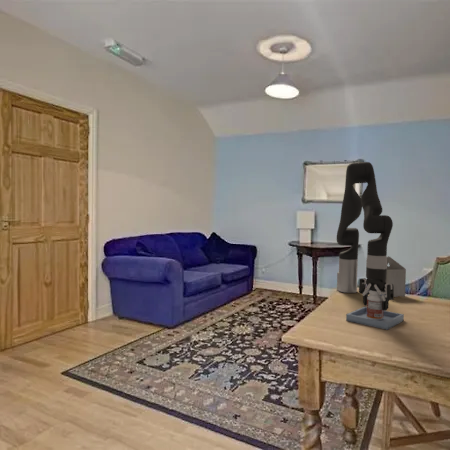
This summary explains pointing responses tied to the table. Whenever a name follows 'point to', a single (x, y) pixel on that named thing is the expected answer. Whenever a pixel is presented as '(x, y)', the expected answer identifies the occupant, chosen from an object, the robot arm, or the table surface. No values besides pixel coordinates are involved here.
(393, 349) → the table surface
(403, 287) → the planter
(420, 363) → the table surface
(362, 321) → the tray
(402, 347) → the table surface
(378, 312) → the pill bottle
